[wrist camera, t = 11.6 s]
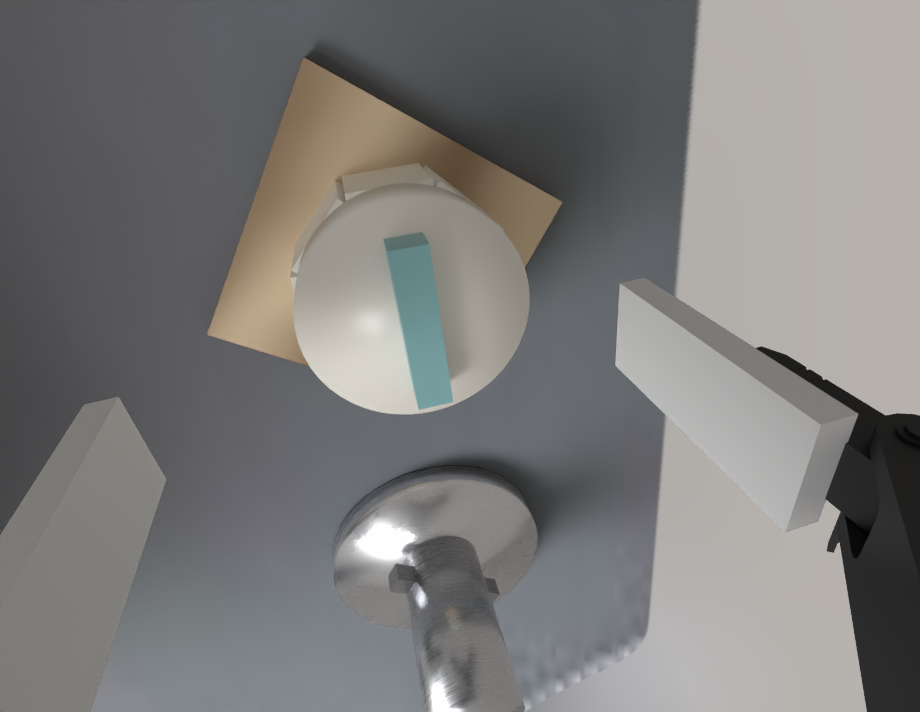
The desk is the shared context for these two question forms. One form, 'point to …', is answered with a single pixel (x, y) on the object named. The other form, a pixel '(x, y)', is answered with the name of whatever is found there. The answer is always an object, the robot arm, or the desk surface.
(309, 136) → the coaster
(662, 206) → the desk surface
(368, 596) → the bayonet post
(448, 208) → the cap
